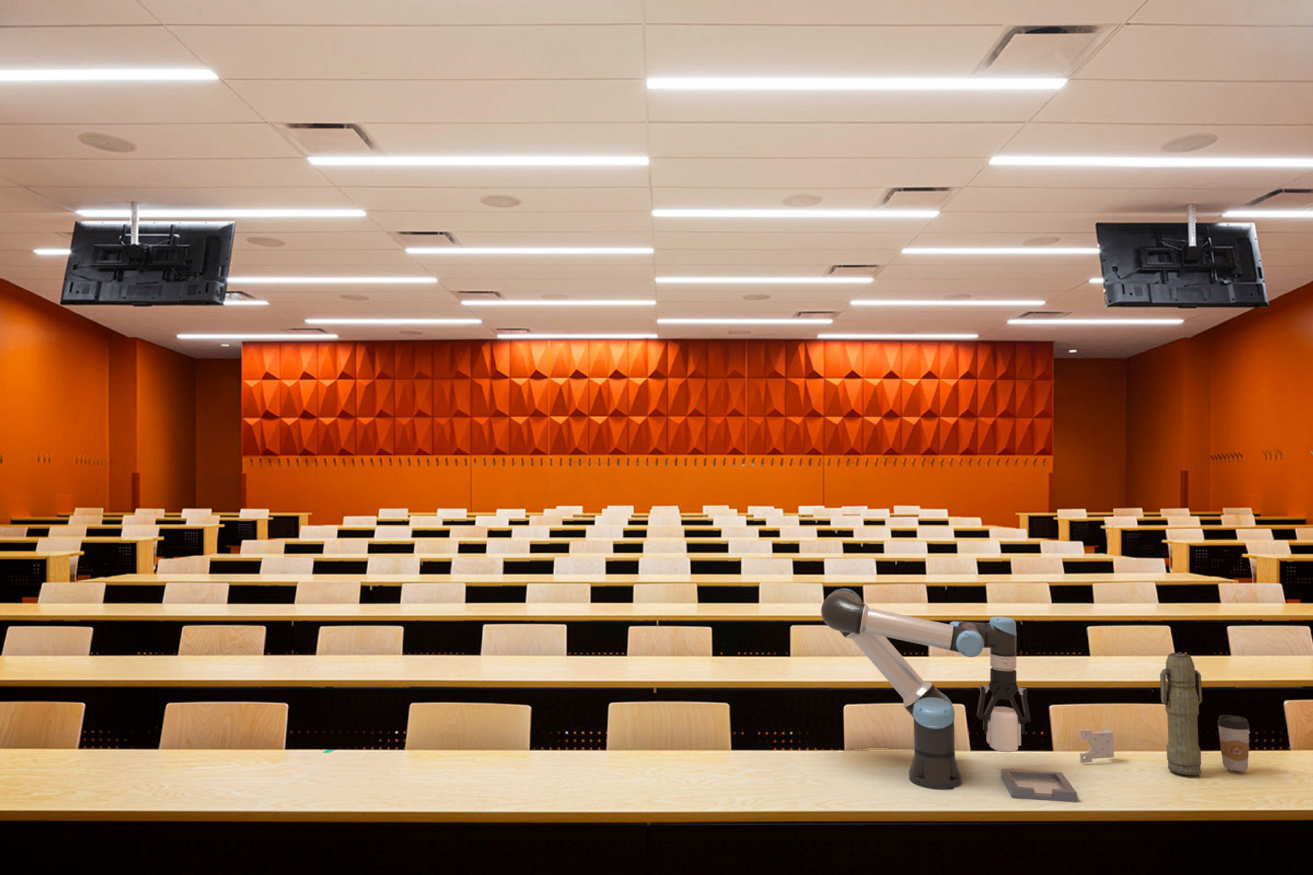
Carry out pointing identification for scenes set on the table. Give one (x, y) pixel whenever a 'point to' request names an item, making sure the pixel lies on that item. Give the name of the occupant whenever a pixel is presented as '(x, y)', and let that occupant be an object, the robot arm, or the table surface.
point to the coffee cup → (1234, 741)
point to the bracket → (1097, 745)
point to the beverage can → (1004, 729)
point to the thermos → (1182, 713)
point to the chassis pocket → (1038, 785)
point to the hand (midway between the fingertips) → (1003, 742)
